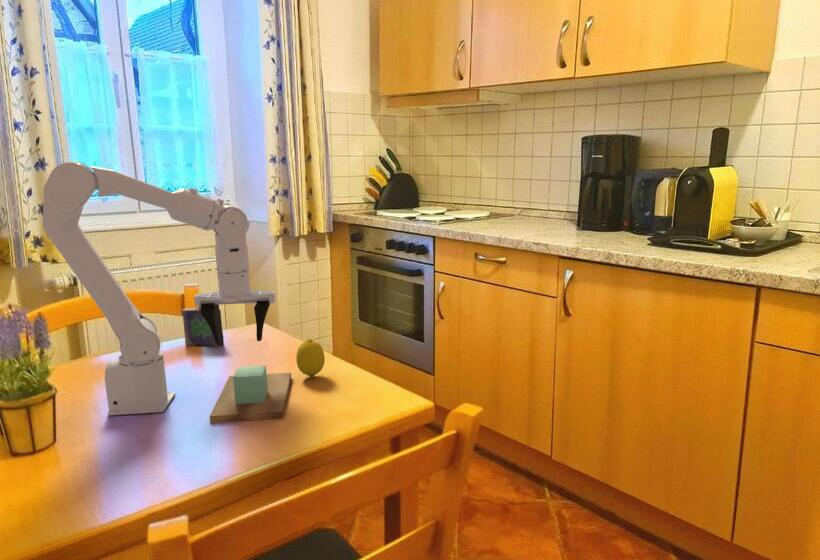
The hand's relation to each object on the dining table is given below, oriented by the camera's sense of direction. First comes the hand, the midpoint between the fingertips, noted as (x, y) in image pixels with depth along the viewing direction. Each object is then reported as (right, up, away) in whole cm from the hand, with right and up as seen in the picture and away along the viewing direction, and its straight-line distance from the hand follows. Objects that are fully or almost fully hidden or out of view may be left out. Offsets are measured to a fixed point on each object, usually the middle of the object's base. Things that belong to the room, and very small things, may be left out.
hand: (239, 340), depth 113 cm
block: (+4, -10, -6) cm, 12 cm away
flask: (-16, -4, +27) cm, 31 cm away
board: (+4, -10, -3) cm, 12 cm away
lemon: (+13, -8, +6) cm, 16 cm away
